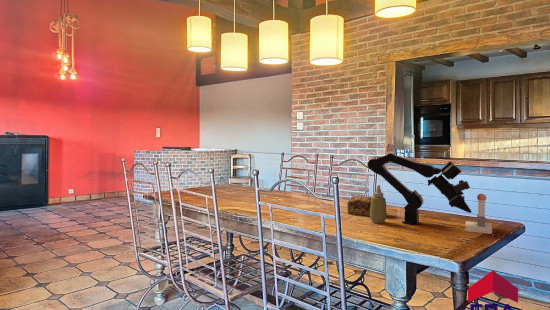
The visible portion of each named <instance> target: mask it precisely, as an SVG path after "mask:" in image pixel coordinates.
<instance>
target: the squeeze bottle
mask: <svg viewBox="0 0 550 310" xmlns="http://www.w3.org/2000/svg"><path fill="white" fill-rule="evenodd" d="M371 197H372V198H371V207H370V216H369V217H370V220H371V222H372V223H375V224H383V223H385V221H386V219H387V216H388V213H387V201H386V200H385V199H386V198H385V197H384V193H383V192H382V190H381V185H377V186H376V190H375V191H374V192H373V196H371Z"/></svg>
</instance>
